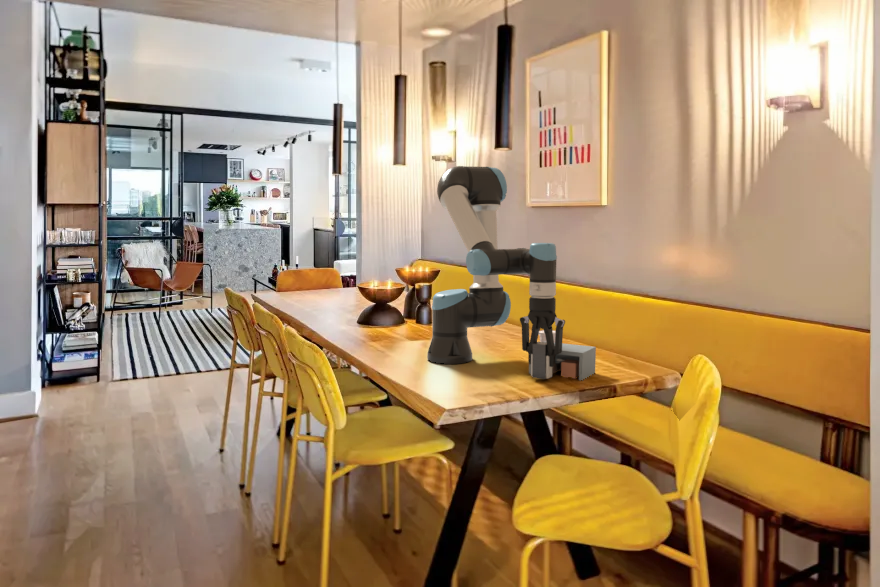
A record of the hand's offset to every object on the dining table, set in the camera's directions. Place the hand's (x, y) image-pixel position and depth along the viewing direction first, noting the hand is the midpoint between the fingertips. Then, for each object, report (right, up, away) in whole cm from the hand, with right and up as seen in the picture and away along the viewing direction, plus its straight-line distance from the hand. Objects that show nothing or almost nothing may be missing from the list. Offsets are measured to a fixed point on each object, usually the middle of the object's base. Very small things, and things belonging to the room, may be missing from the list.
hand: (541, 376), depth 190 cm
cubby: (+8, 0, +9) cm, 12 cm away
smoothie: (+6, +2, +28) cm, 29 cm away
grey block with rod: (+5, 0, +4) cm, 7 cm away
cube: (+10, -1, +6) cm, 11 cm away
